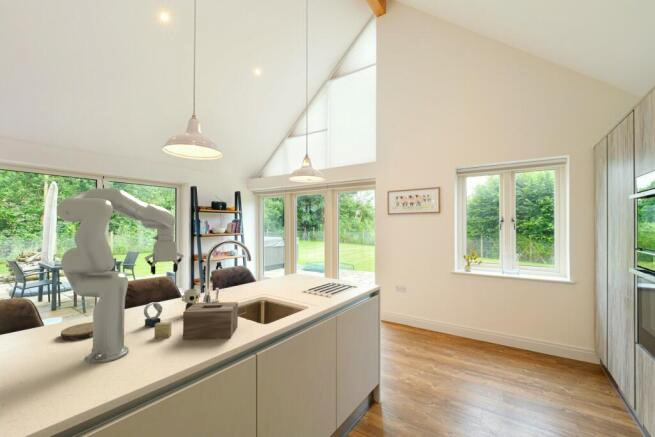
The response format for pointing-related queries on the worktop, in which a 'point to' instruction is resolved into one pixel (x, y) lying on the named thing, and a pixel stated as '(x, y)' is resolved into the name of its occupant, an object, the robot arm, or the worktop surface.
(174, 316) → the worktop surface
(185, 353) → the worktop surface
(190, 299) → the character mug
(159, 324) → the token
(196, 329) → the coin box
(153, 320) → the watch
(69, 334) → the round wooden board
